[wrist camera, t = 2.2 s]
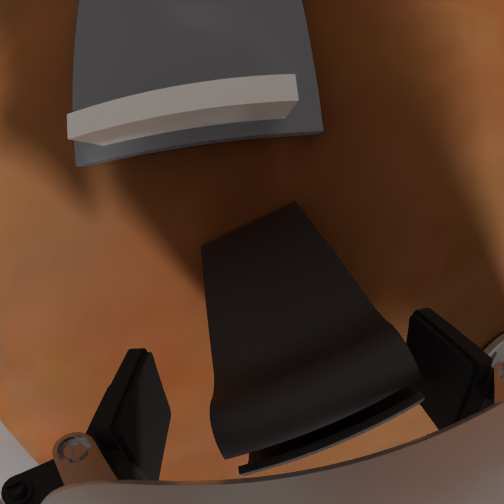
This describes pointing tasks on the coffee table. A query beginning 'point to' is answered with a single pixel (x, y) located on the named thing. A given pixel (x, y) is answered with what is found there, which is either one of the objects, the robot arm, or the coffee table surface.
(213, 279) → the phone stand
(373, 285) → the coffee table surface
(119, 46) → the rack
